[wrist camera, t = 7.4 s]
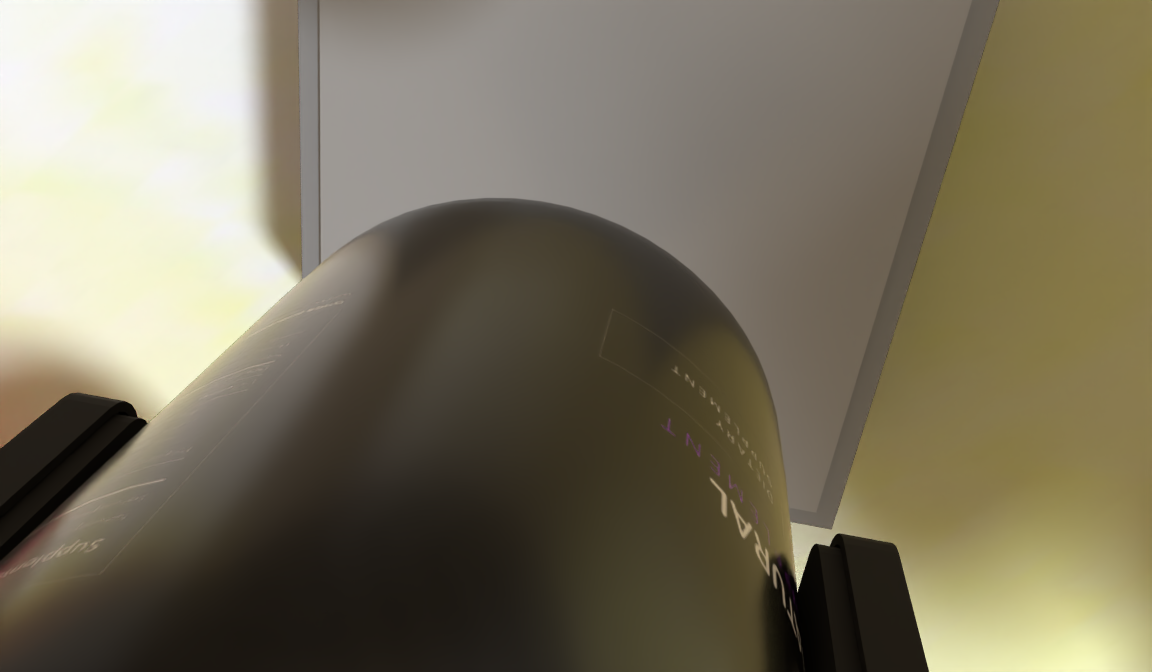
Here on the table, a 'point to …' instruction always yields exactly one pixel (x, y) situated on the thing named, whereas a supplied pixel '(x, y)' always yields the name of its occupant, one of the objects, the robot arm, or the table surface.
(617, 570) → the supplement bottle
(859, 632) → the robot arm
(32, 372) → the table surface
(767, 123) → the slate riser
